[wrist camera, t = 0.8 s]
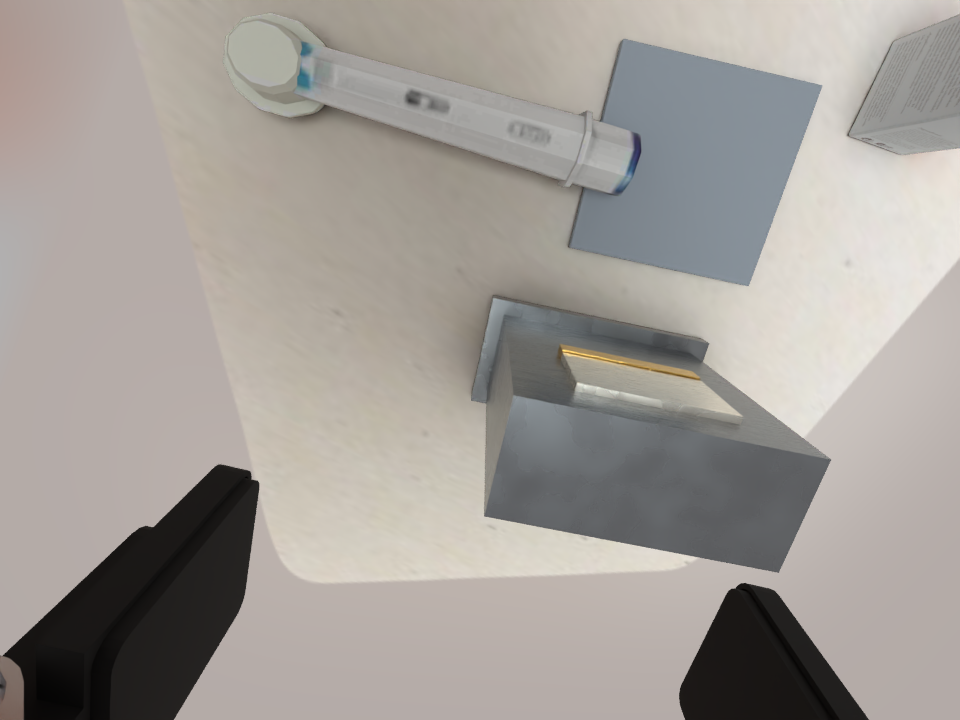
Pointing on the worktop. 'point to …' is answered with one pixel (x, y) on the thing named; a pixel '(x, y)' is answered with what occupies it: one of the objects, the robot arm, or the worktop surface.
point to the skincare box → (916, 94)
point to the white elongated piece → (424, 105)
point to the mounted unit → (634, 440)
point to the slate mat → (696, 162)
